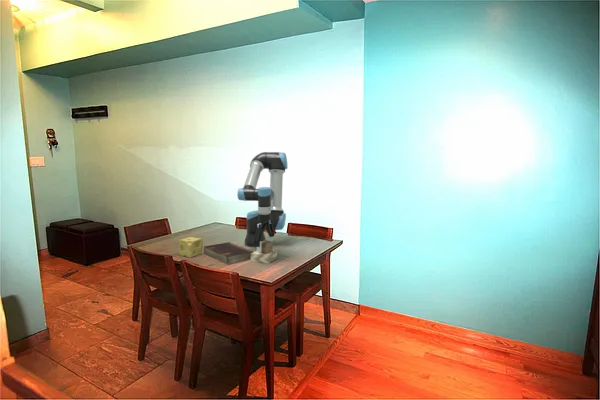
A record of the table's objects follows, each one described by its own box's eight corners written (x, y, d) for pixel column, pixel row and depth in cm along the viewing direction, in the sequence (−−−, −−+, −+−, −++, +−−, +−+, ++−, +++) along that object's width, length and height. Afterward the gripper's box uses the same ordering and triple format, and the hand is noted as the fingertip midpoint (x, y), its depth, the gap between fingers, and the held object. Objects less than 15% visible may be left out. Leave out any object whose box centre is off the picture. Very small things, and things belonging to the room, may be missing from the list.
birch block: (250, 261, 207) (250, 253, 207) (259, 256, 219) (259, 248, 218) (269, 264, 204) (269, 255, 203) (277, 258, 215) (277, 250, 214)
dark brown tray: (254, 258, 214) (254, 250, 213) (227, 265, 201) (227, 257, 200) (229, 248, 235) (229, 241, 234) (203, 254, 222) (203, 246, 222)
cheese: (190, 258, 213) (189, 242, 212) (178, 255, 219) (177, 239, 217) (203, 253, 222) (202, 238, 220) (191, 251, 227) (191, 236, 226)
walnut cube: (258, 252, 209) (258, 242, 208) (264, 250, 214) (264, 240, 214) (266, 254, 206) (266, 244, 205) (272, 251, 211) (272, 241, 211)
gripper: (258, 217, 195) (258, 255, 198) (280, 211, 216) (280, 245, 219) (247, 216, 199) (247, 253, 202) (270, 209, 219) (270, 244, 222)
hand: (264, 249), depth 210 cm, fingers open, 11 cm apart
